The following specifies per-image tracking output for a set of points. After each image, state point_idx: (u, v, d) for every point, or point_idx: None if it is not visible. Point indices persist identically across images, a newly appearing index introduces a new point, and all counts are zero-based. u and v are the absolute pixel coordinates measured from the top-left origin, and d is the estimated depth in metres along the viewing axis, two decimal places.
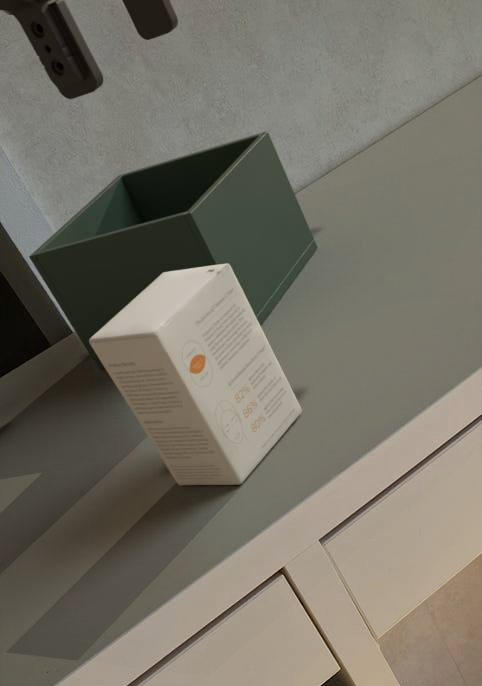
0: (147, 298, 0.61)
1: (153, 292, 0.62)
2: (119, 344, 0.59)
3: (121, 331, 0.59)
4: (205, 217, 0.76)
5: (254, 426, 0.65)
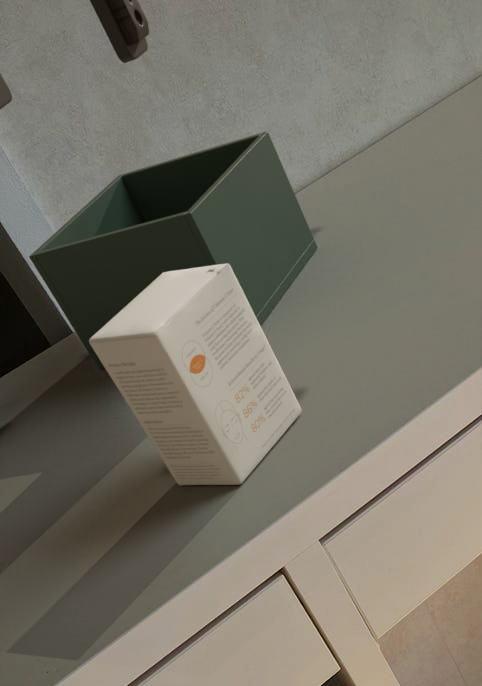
0: (147, 298, 0.61)
1: (153, 291, 0.62)
2: (119, 344, 0.59)
3: (121, 331, 0.59)
4: (205, 217, 0.76)
5: (254, 426, 0.65)
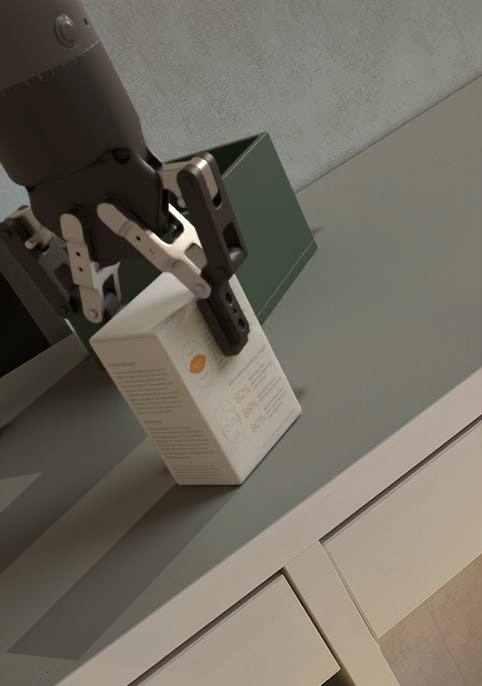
0: (147, 298, 0.61)
1: (153, 291, 0.62)
2: (119, 344, 0.59)
3: (121, 331, 0.59)
4: None
5: (254, 426, 0.65)
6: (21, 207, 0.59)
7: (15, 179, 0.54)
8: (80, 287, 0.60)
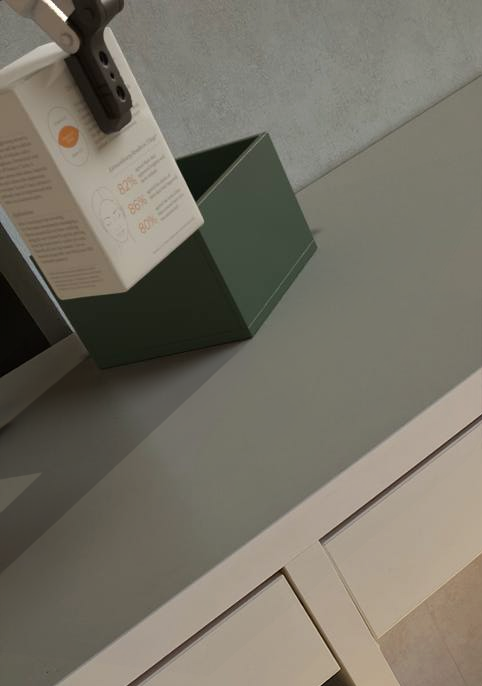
0: (14, 65, 0.53)
1: (22, 59, 0.54)
2: None
3: None
4: (205, 217, 0.76)
5: (143, 226, 0.56)
6: None
7: None
8: None
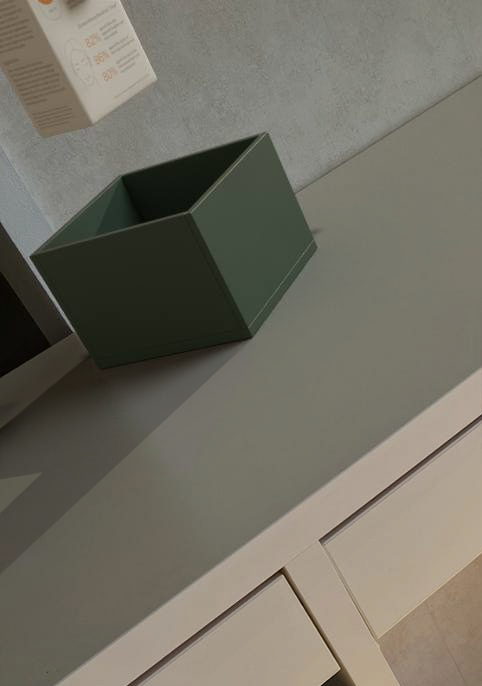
0: None
1: None
2: None
3: None
4: (205, 217, 0.76)
5: (106, 75, 0.72)
6: None
7: None
8: None
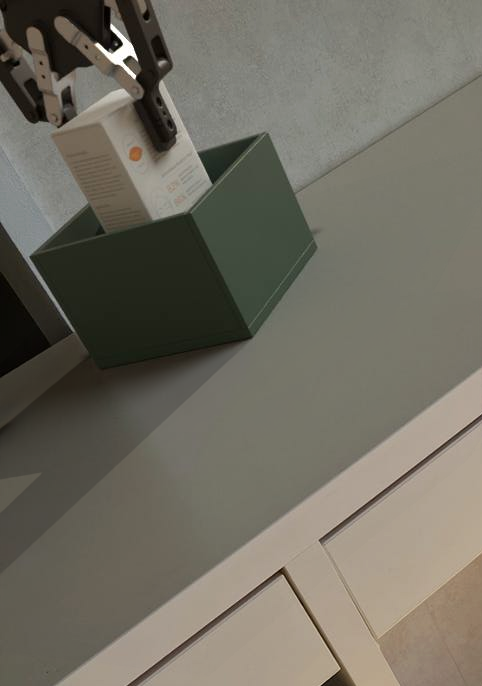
0: (97, 106, 0.79)
1: (102, 102, 0.79)
2: (74, 135, 0.76)
3: (75, 125, 0.76)
4: (205, 217, 0.76)
5: None
6: None
7: None
8: (43, 94, 0.77)
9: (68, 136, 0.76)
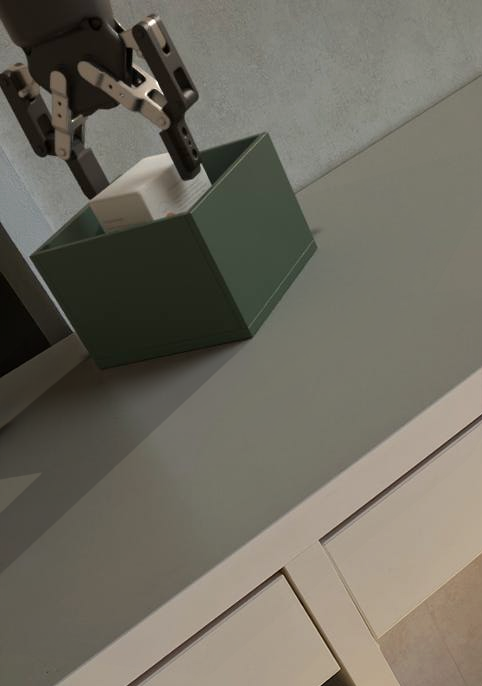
0: (132, 173, 0.82)
1: (136, 169, 0.82)
2: (111, 203, 0.79)
3: (113, 193, 0.79)
4: (205, 217, 0.76)
5: None
6: (17, 64, 0.78)
7: (16, 40, 0.73)
8: (55, 129, 0.79)
9: (106, 204, 0.80)
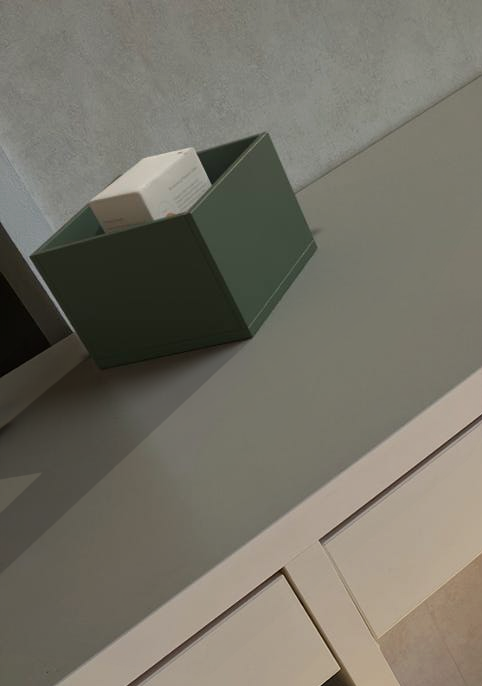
0: (132, 173, 0.82)
1: (136, 169, 0.82)
2: (111, 203, 0.79)
3: (113, 193, 0.79)
4: (205, 217, 0.76)
5: None
6: None
7: None
8: None
9: (106, 204, 0.80)
